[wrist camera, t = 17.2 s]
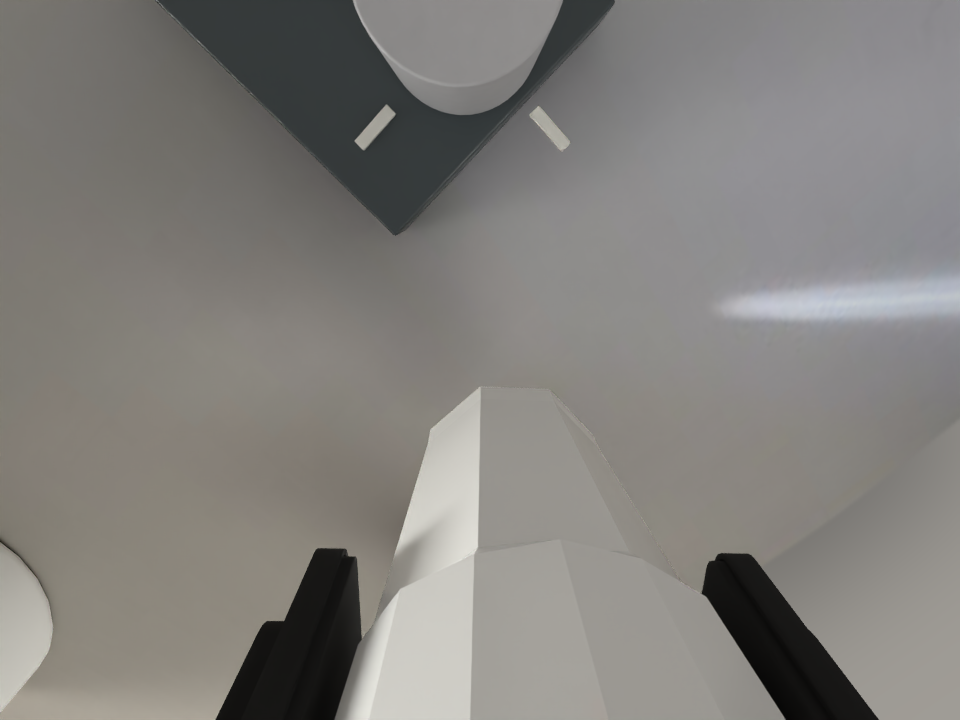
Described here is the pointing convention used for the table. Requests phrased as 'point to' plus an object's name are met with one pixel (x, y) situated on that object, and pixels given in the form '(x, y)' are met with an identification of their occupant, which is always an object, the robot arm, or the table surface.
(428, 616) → the cup
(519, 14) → the tap knob
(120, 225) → the table surface
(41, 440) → the table surface
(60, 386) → the table surface
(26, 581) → the mug
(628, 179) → the table surface
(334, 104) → the dial base plate
